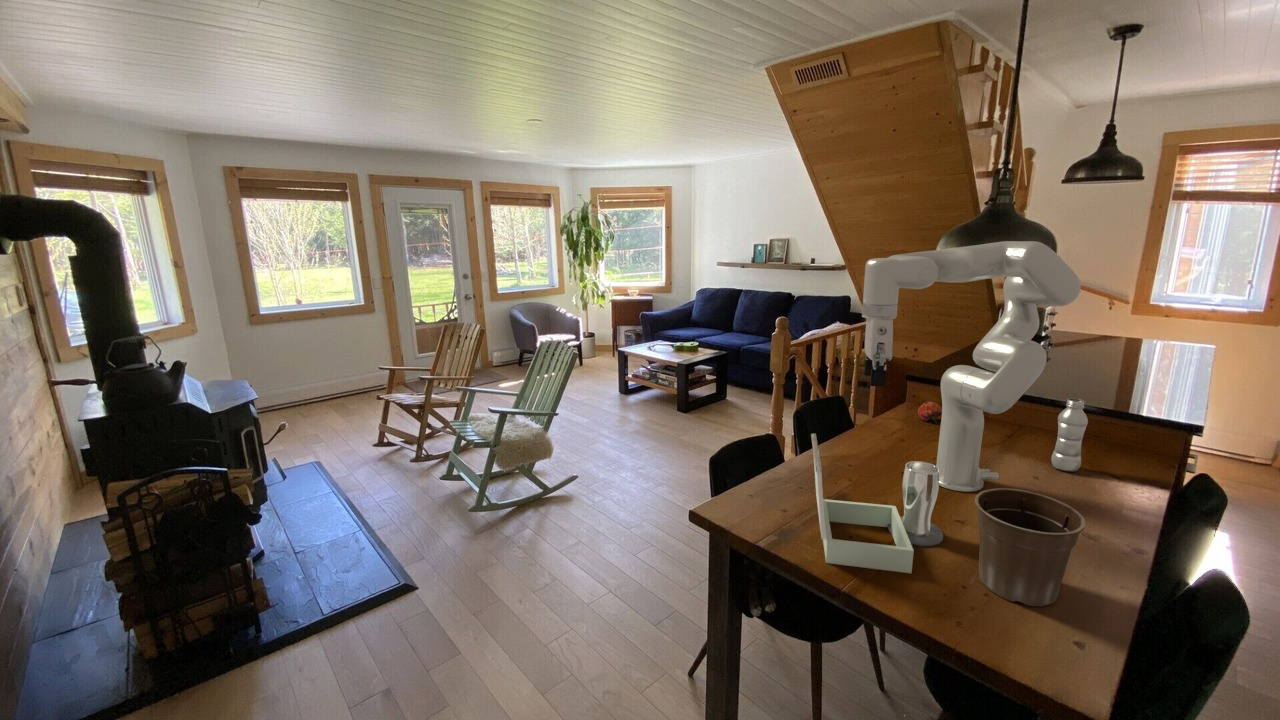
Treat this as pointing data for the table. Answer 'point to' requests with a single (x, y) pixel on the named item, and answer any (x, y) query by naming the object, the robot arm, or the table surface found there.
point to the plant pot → (1025, 544)
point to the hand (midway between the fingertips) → (874, 380)
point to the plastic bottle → (1070, 436)
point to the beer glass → (919, 496)
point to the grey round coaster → (929, 540)
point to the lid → (818, 485)
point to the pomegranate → (929, 411)
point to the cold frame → (867, 553)
